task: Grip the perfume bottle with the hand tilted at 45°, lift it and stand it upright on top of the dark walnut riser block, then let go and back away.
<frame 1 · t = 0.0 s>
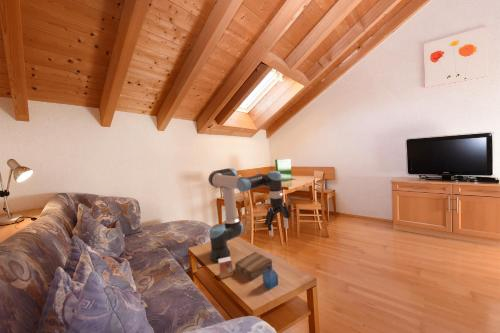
hand: (279, 231, 133), 28 cm above the table, tool pointing down, fingers open, 13 cm apart
walnut riser block: (254, 269, 145), on the table
perfume bottle: (270, 284, 128), on the table
small box: (226, 275, 142), on the table
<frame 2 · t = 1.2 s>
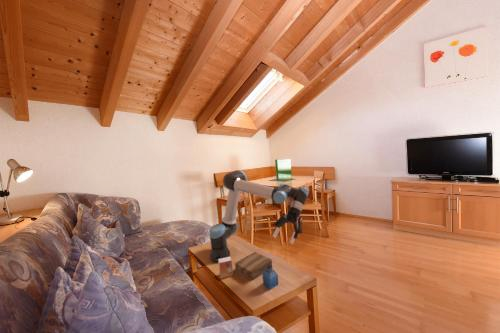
hand: (282, 240, 133), 23 cm above the table, tool tilted 45°, fingers open, 13 cm apart
nothing on the table moved.
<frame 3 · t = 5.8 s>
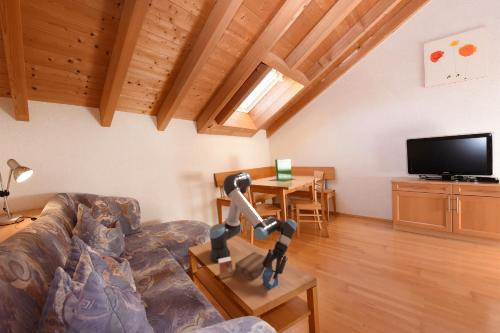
hand: (265, 281, 125), 4 cm above the table, tool tilted 45°, fingers closed on perfume bottle, 6 cm apart
perfume bottle: (270, 284, 128), on the table, touching gripper
everything else where it was.
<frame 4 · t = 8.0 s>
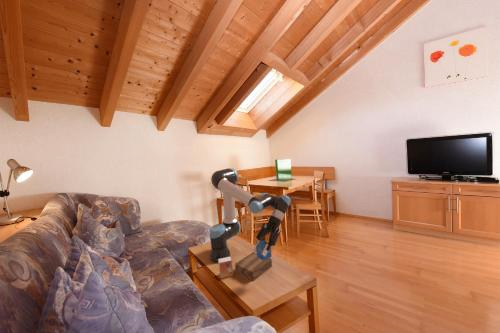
hand: (259, 253, 129), 18 cm above the table, tool tilted 45°, fingers closed on perfume bottle, 6 cm apart
perfume bottle: (264, 256, 132), point 14 cm above the table, touching gripper
everything else where it was.
when the fingers open (11 cm above the table, at t = 10.5 s): perfume bottle drops 2 cm, resting on walnut riser block.
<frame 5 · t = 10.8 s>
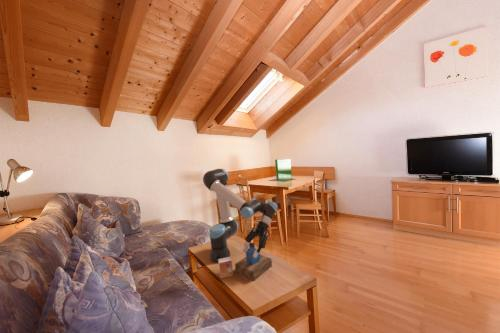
hand: (248, 254, 142), 12 cm above the table, tool tilted 45°, fingers open, 10 cm apart
walnut riser block: (254, 269, 145), on the table, touching perfume bottle
perfume bottle: (253, 261, 144), point 5 cm above the table, touching walnut riser block
everything else where it was.
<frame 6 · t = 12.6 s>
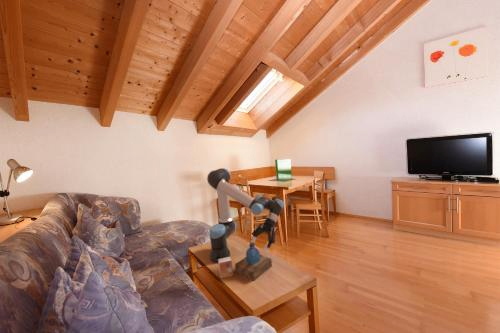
hand: (257, 249, 146), 13 cm above the table, tool tilted 45°, fingers open, 13 cm apart
walnut riser block: (254, 269, 145), on the table
perfume bottle: (253, 261, 145), point 5 cm above the table
everything else where it was.
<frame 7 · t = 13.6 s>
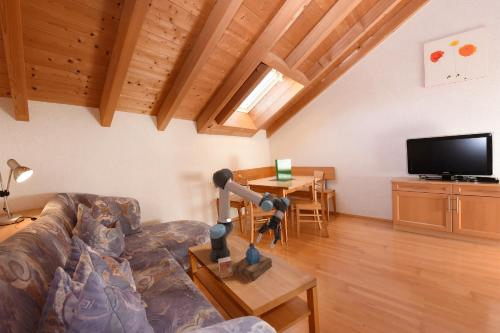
hand: (263, 245, 150), 12 cm above the table, tool tilted 45°, fingers open, 13 cm apart
walnut riser block: (254, 270, 145), on the table, touching perfume bottle
perfume bottle: (253, 261, 144), point 5 cm above the table, touching walnut riser block
everything else where it was.
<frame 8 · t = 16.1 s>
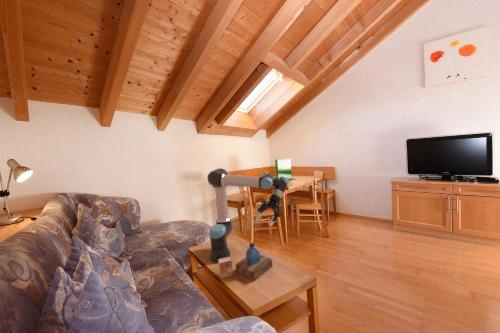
hand: (263, 223, 149), 28 cm above the table, tool tilted 45°, fingers open, 13 cm apart
nothing on the table moved.
at the end: perfume bottle inside the target area on the walnut riser block (0.4 cm from its centre), point 5.8 cm above the walnut riser block's base; perfume bottle tilted 0°; the gripper is holding nothing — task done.
